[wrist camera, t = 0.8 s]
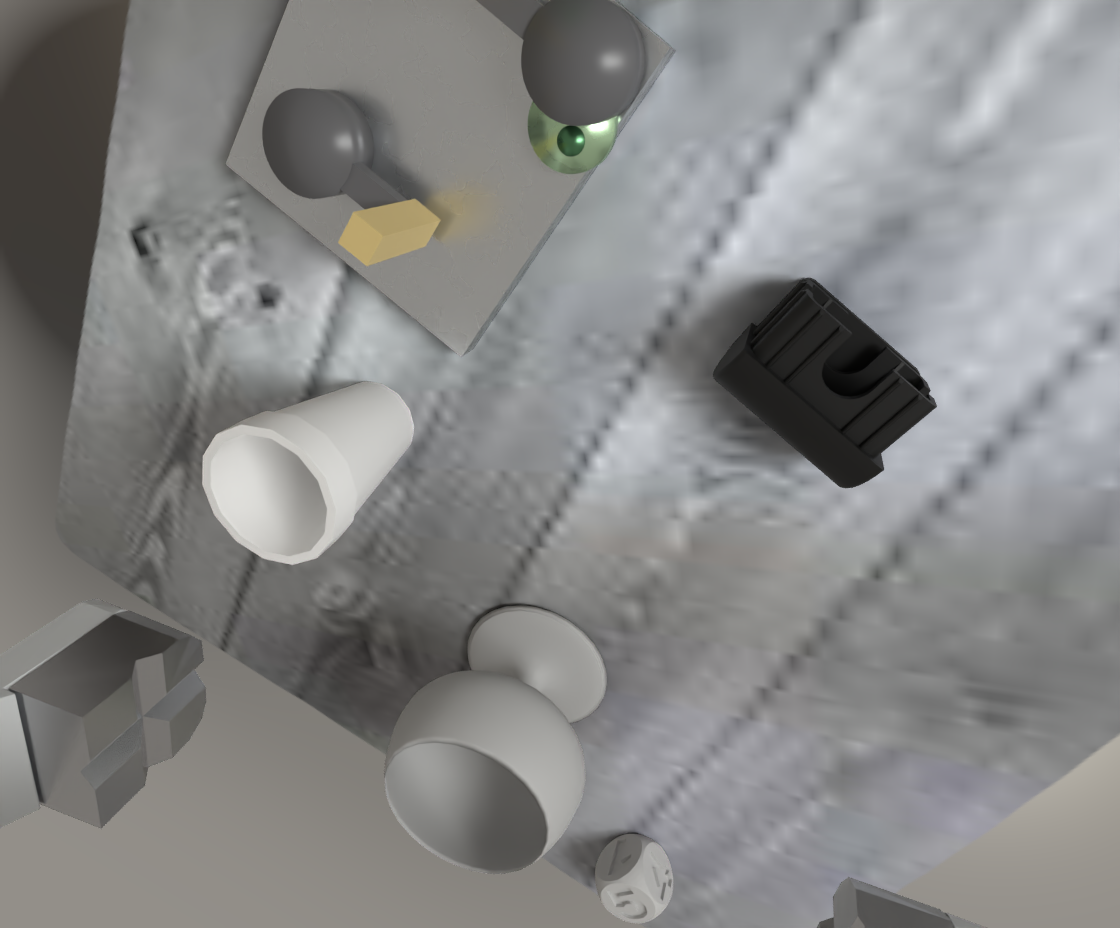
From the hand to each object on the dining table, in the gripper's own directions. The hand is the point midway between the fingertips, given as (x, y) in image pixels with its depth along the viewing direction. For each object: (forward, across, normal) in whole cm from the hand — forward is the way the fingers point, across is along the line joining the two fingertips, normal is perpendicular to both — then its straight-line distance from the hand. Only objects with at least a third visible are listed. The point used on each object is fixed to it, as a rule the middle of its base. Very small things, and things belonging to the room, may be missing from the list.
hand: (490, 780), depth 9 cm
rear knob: (+38, +23, -1) cm, 45 cm away
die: (+41, -5, +52) cm, 67 cm away
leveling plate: (+40, +20, -5) cm, 45 cm away
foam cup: (+41, +23, +17) cm, 50 cm away
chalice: (+41, +7, +35) cm, 54 cm away
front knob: (+38, +13, -10) cm, 41 cm away
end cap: (+40, -6, +5) cm, 41 cm away
